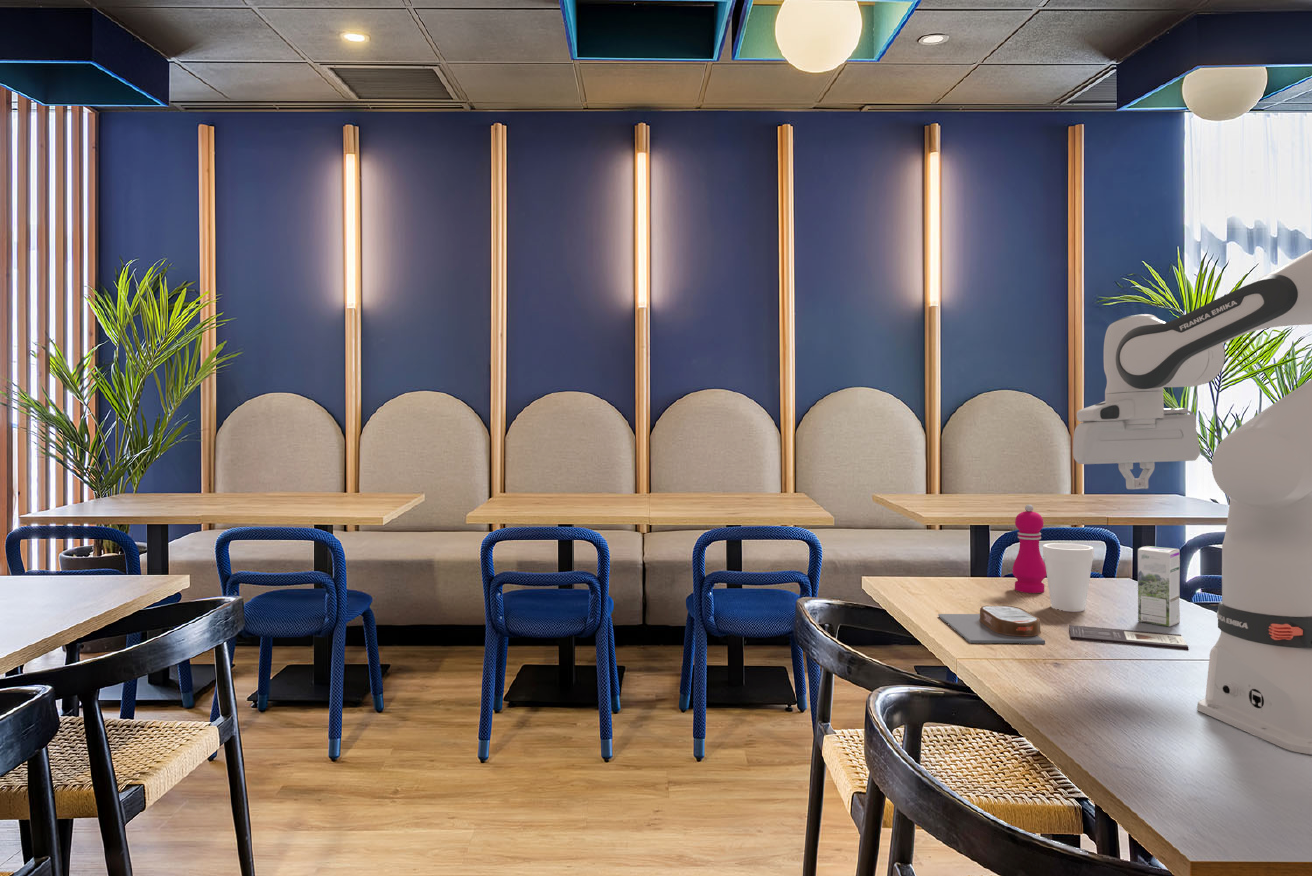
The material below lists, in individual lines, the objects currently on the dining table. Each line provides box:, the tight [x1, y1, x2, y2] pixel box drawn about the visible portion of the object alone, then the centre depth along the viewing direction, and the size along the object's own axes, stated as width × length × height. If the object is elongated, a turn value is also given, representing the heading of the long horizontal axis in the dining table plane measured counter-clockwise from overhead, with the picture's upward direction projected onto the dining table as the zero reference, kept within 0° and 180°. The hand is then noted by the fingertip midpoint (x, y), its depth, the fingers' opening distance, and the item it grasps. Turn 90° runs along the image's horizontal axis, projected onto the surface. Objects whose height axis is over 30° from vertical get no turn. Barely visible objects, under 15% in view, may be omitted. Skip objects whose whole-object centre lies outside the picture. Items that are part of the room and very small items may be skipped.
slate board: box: [937, 613, 1046, 645], centre depth 156 cm, size 20×13×1 cm, turn 177°
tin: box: [979, 604, 1042, 637], centre depth 155 cm, size 15×3×8 cm
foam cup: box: [1042, 542, 1095, 613], centre depth 172 cm, size 10×9×13 cm
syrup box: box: [1137, 545, 1181, 627], centre depth 160 cm, size 6×6×14 cm
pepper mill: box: [1011, 504, 1047, 594], centre depth 190 cm, size 7×7×20 cm
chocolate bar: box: [1069, 624, 1189, 651], centre depth 148 cm, size 9×1×18 cm
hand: (1137, 488), depth 143 cm, fingers closed
